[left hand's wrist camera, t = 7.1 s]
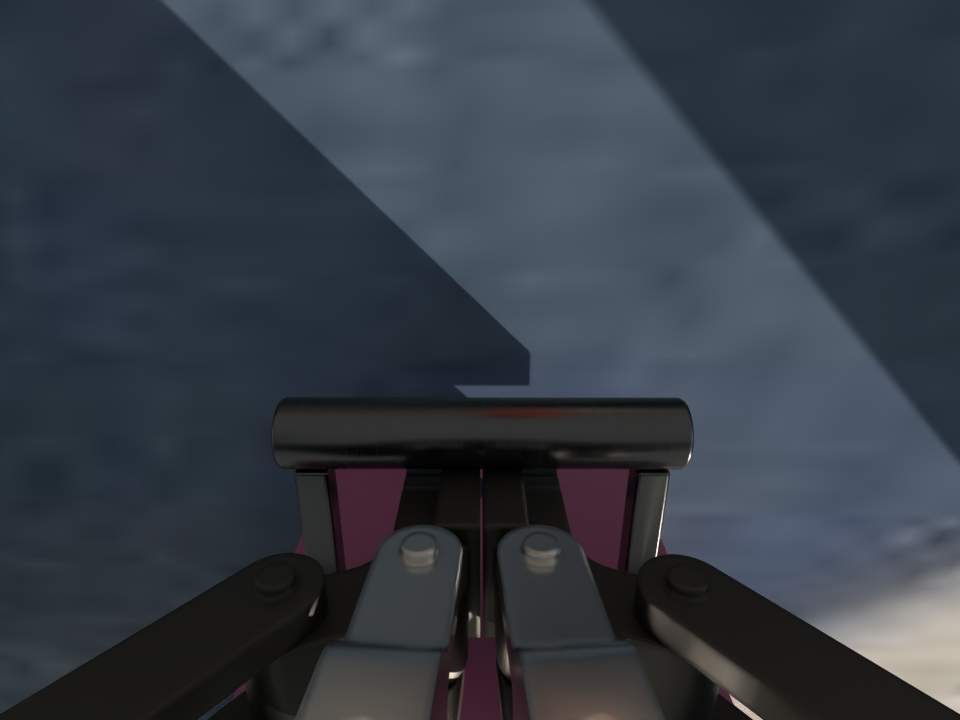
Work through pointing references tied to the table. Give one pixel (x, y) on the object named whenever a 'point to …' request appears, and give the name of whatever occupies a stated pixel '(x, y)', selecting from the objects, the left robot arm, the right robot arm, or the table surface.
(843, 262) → the table surface
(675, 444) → the drawer
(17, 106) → the table surface
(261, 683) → the left robot arm
